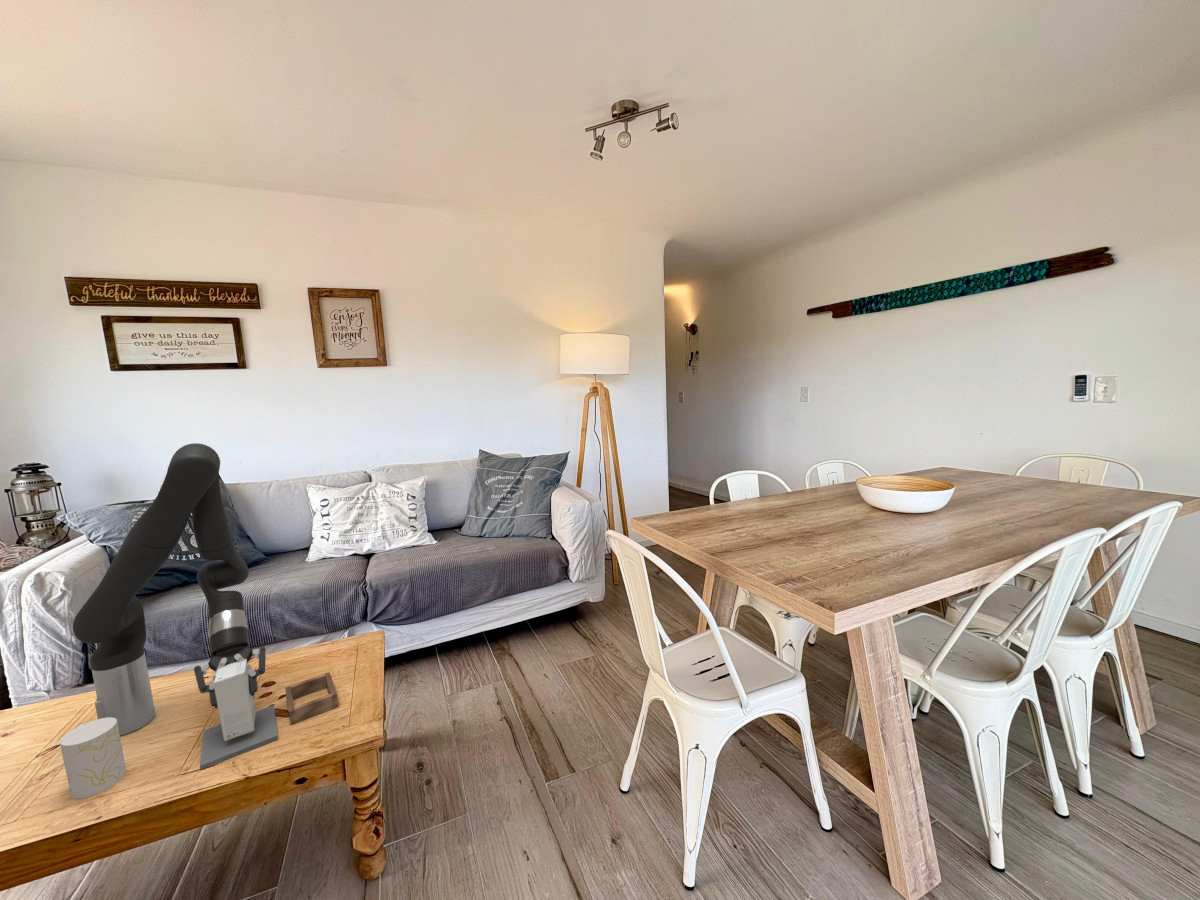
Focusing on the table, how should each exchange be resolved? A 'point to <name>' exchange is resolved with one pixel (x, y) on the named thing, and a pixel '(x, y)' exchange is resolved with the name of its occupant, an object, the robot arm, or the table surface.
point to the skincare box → (234, 700)
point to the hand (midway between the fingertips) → (235, 700)
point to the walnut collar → (314, 705)
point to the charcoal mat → (238, 739)
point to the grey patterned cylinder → (93, 757)
